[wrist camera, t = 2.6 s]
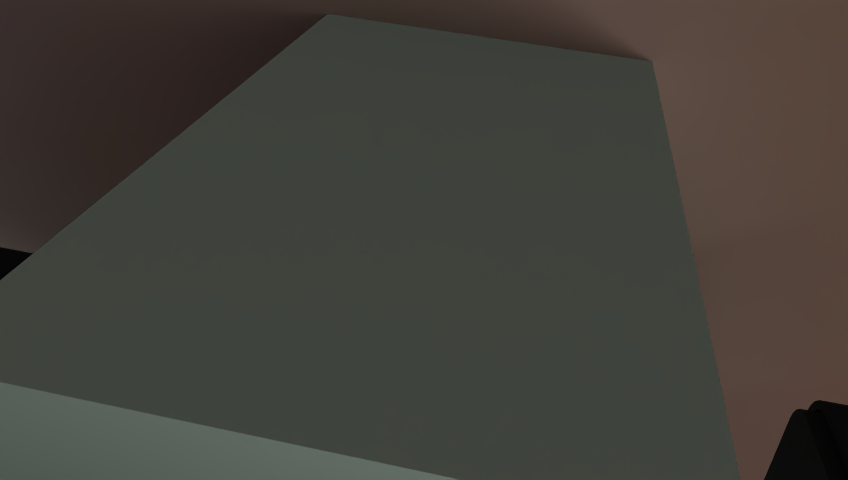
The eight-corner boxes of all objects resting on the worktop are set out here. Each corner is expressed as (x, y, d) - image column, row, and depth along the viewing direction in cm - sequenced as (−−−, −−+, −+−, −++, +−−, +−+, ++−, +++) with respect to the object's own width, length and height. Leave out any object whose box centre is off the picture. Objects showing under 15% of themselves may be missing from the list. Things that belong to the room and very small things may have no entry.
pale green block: (328, 13, 11) (-100, 362, 4) (651, 60, 11) (753, 542, 4) (315, 394, 15) (68, 918, 8) (558, 443, 14) (523, 1052, 7)
